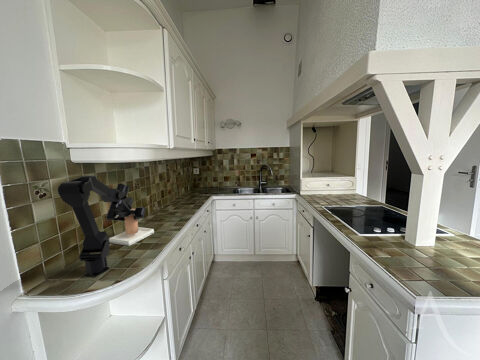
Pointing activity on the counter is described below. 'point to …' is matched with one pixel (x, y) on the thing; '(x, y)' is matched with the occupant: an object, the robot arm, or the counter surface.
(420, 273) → the counter surface
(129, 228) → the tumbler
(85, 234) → the robot arm
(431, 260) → the counter surface
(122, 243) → the tray
